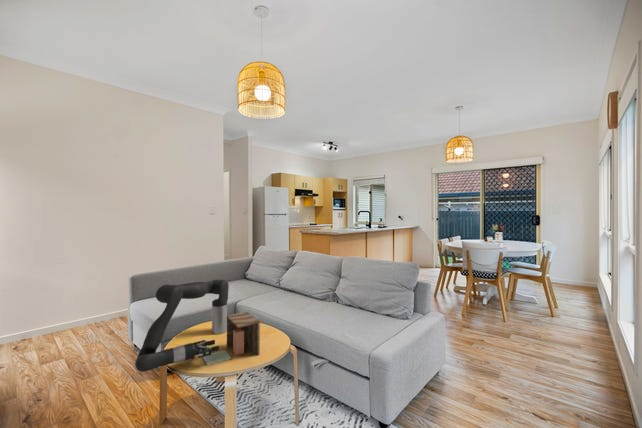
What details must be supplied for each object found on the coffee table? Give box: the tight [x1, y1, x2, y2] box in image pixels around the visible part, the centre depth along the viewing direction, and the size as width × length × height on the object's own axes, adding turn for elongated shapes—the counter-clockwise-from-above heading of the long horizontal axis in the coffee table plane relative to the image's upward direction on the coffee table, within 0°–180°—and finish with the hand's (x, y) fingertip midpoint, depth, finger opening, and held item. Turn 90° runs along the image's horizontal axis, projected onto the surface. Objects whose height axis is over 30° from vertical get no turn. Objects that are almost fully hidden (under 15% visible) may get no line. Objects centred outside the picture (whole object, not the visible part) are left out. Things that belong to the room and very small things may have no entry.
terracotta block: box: [232, 329, 245, 356], centre depth 159 cm, size 4×4×12 cm
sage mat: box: [202, 349, 232, 366], centre depth 153 cm, size 11×12×1 cm
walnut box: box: [226, 311, 261, 356], centre depth 161 cm, size 19×12×18 cm, turn 34°
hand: (216, 344), depth 153 cm, fingers open, 8 cm apart
